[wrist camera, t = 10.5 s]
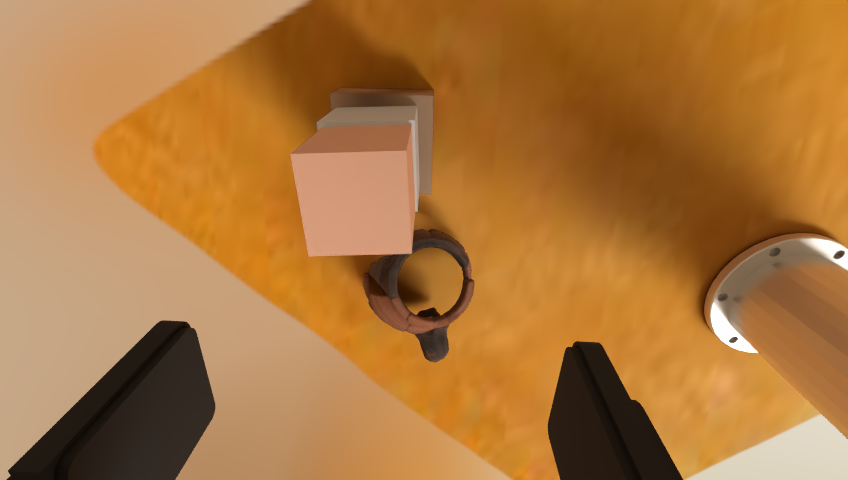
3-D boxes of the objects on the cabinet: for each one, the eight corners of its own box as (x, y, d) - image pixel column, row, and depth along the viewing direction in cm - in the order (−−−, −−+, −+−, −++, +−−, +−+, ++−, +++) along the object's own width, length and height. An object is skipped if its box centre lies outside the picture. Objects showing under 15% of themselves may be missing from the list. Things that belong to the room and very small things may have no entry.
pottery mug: (340, 249, 37) (355, 256, 30) (430, 211, 40) (465, 208, 32) (389, 363, 39) (415, 397, 31) (472, 319, 42) (514, 341, 34)
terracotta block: (411, 124, 23) (406, 150, 17) (415, 207, 25) (411, 253, 20) (322, 126, 23) (290, 153, 17) (334, 209, 25) (308, 256, 20)
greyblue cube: (417, 105, 28) (414, 120, 23) (419, 183, 30) (417, 211, 25) (336, 107, 28) (316, 122, 23) (345, 184, 30) (328, 213, 25)
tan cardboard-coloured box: (433, 89, 31) (433, 95, 27) (431, 178, 34) (431, 194, 30) (341, 87, 31) (329, 93, 27) (347, 176, 34) (337, 192, 30)
